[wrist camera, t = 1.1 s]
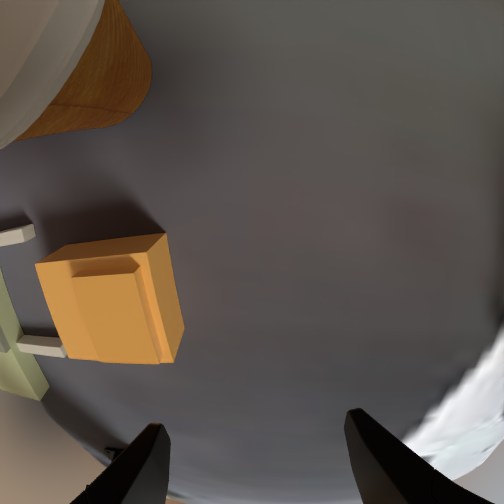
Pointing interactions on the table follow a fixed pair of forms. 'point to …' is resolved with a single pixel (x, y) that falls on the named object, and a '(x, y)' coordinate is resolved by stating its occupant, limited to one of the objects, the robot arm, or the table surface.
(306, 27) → the table surface
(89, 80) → the disposable coffee cup
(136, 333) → the orange block with panel
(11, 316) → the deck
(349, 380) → the table surface
